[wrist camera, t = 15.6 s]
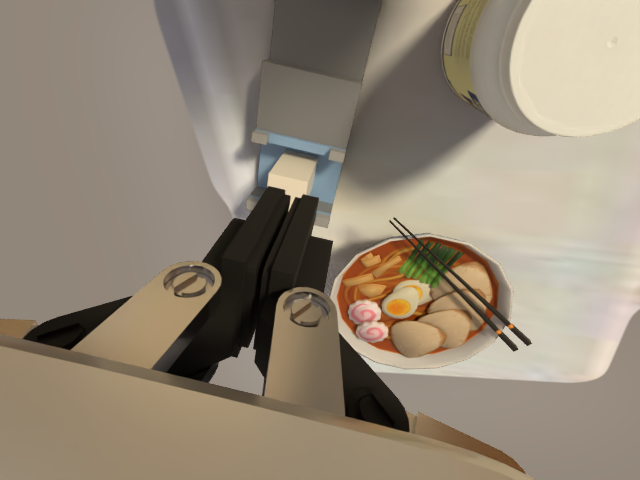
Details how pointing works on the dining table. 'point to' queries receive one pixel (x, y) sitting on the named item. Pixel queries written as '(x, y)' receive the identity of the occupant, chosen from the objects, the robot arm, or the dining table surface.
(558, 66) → the supplement tub
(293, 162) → the plug
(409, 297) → the ramen bowl
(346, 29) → the grey tiered shelf stand
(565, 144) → the dining table surface
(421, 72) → the dining table surface
